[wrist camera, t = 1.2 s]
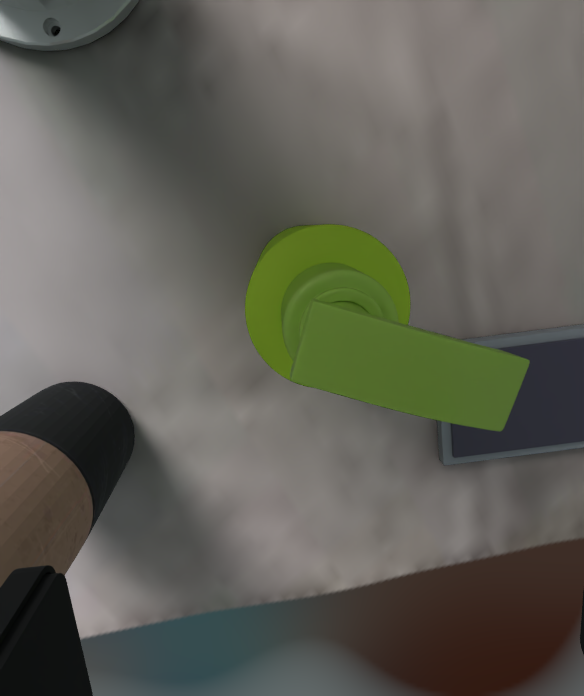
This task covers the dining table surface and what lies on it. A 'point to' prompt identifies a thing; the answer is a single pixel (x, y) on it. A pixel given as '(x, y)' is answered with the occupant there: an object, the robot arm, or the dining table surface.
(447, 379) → the soap dispenser
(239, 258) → the dining table surface
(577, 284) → the dining table surface
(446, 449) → the ink pad
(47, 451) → the travel mug
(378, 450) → the dining table surface
